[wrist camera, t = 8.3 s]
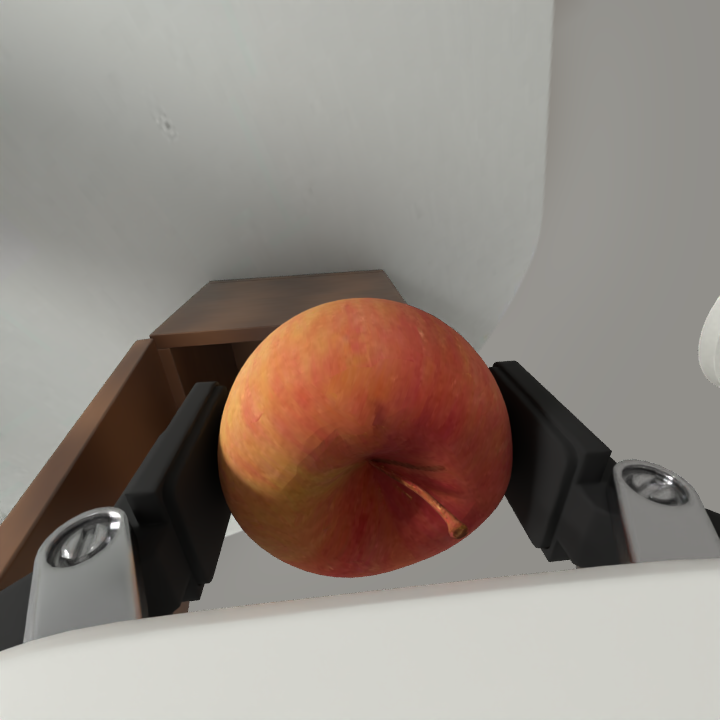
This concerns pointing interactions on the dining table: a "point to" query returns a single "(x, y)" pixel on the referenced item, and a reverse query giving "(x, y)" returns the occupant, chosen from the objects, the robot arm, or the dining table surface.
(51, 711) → the robot arm
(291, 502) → the apple
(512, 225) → the dining table surface
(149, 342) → the lid
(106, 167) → the dining table surface
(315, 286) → the chest
